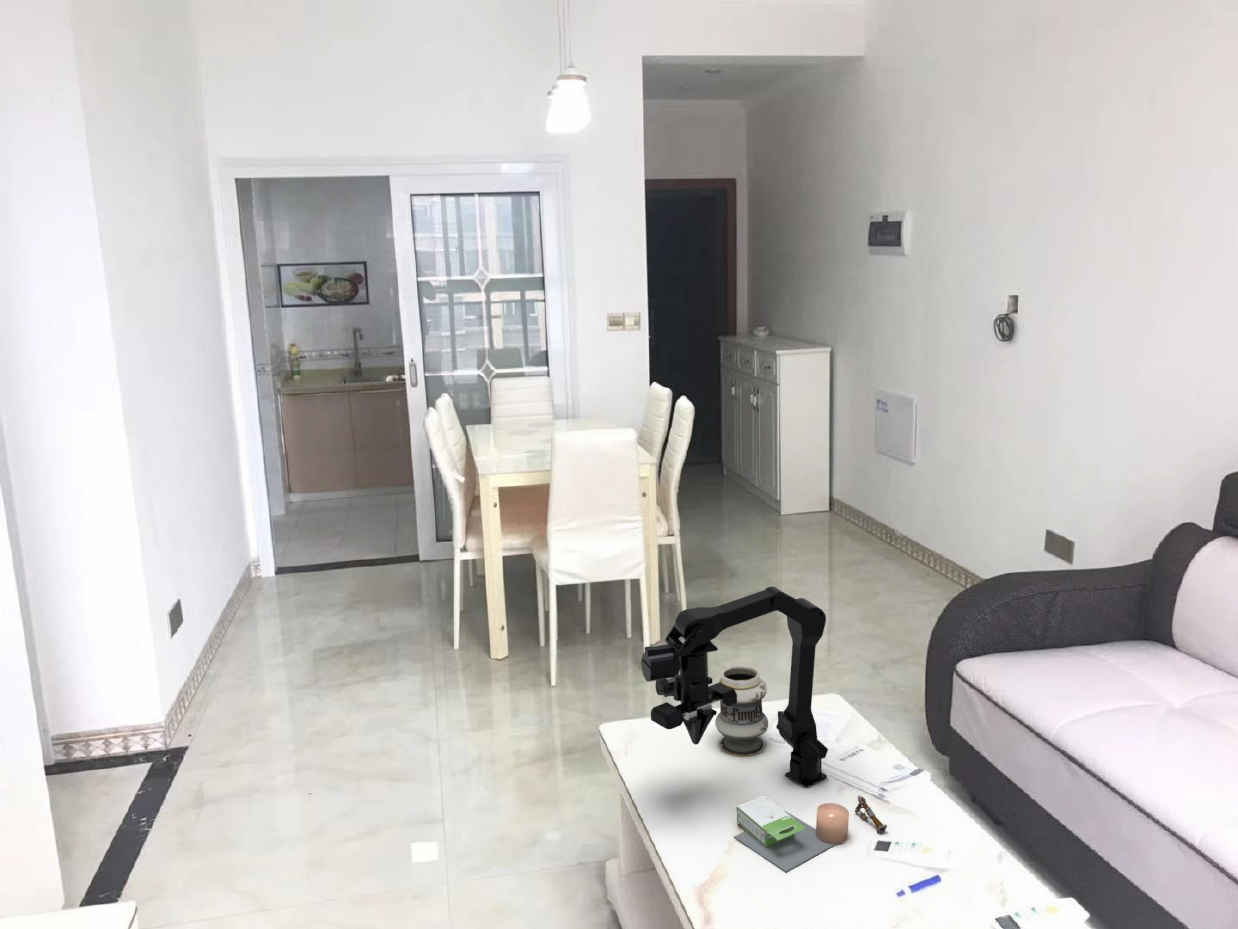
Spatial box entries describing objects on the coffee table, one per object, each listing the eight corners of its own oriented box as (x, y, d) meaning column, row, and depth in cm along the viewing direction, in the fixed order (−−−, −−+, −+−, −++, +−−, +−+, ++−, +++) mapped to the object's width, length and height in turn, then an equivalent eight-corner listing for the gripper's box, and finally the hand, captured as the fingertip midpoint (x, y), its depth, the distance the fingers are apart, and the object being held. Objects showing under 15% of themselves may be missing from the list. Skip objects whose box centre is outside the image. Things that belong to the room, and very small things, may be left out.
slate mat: (785, 812, 197) (785, 810, 197) (838, 844, 186) (838, 842, 186) (733, 838, 189) (733, 836, 189) (786, 872, 178) (786, 871, 178)
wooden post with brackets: (856, 806, 197) (863, 792, 194) (880, 839, 191) (887, 825, 188) (849, 808, 196) (855, 794, 193) (873, 842, 190) (880, 827, 188)
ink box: (735, 823, 193) (777, 858, 182) (735, 805, 192) (777, 839, 181) (764, 812, 196) (807, 846, 185) (764, 794, 196) (807, 827, 184)
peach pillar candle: (830, 823, 192) (831, 800, 191) (853, 837, 188) (855, 813, 187) (809, 832, 189) (810, 809, 188) (832, 847, 184) (834, 822, 183)
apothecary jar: (710, 735, 229) (709, 664, 225) (760, 730, 230) (760, 659, 227) (721, 761, 217) (720, 686, 214) (774, 756, 219) (774, 681, 215)
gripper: (702, 648, 208) (704, 715, 211) (632, 672, 197) (635, 743, 200) (738, 664, 199) (739, 735, 202) (667, 691, 188) (669, 764, 192)
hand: (695, 743), depth 199 cm, fingers closed
